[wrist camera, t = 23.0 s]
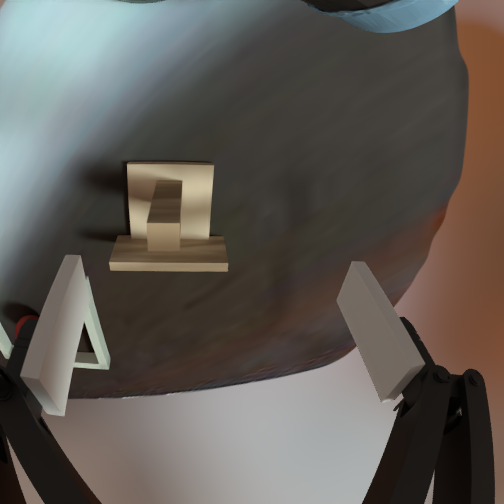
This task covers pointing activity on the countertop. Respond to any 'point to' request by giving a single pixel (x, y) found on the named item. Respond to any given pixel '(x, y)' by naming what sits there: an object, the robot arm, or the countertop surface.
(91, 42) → the countertop surface
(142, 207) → the wooden scraper
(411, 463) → the robot arm
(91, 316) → the sage frame
